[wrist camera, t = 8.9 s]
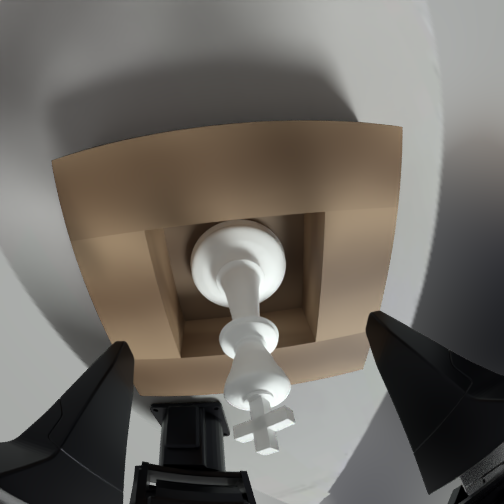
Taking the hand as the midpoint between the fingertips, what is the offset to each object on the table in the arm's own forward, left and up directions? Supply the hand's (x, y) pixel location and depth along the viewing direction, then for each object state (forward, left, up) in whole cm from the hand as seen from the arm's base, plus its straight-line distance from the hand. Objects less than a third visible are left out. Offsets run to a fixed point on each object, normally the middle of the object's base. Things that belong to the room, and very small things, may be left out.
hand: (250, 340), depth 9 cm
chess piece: (0, 0, -6) cm, 6 cm away
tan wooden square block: (0, 0, -7) cm, 7 cm away
